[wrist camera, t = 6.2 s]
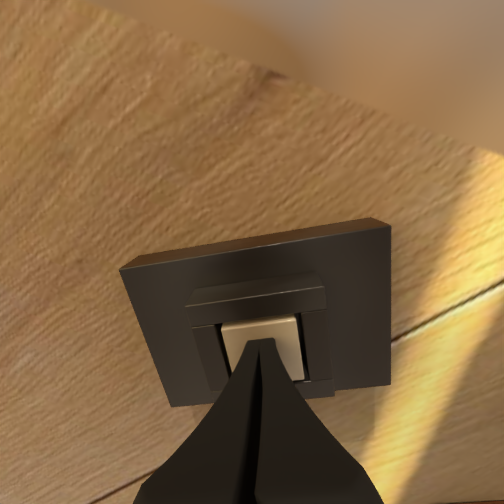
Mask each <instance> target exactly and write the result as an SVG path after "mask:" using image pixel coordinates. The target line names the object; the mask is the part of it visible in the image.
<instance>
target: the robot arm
mask: <svg viewBox="0 0 504 504" xmlns="http://www.w3.org/2000/svg"><path fill="white" fill-rule="evenodd" d="M133 504H384V502H383V501H382V499H381V497H380V495H379V493H378V491H377V490H376V488H375V486H374V485H373V483H372V481H371V480H370V478H369V476H368V475H367V473H366V471H365V470H364V468H363V467H362V466H361V465H360V464H359V463H358V462H357V461H356V460H355V459H354V458H353V457H352V456H351V455H350V454H349V453H348V452H347V451H346V450H345V448H344V447H343V446H342V445H341V444H340V443H339V442H338V441H337V440H336V439H335V438H334V436H333V435H332V434H331V433H330V432H329V431H328V429H327V428H326V427H325V426H324V425H323V423H322V422H321V421H320V420H319V418H318V417H317V416H316V415H315V414H314V412H313V411H312V410H311V408H310V407H309V405H308V404H307V403H306V401H305V400H304V398H303V397H302V395H301V394H300V392H299V391H298V389H297V388H296V386H295V384H294V383H293V381H292V379H291V378H290V376H289V374H288V372H287V370H286V368H285V366H284V364H283V362H282V360H281V358H280V355H279V353H278V350H277V347H276V341H275V339H274V338H273V337H271V338H264V339H256V340H248V341H247V342H246V345H245V347H244V350H243V352H242V354H241V357H240V359H239V361H238V363H237V365H236V367H235V369H234V371H233V373H232V375H231V377H230V379H229V380H228V382H227V384H226V385H225V387H224V389H223V391H222V392H221V394H220V395H219V397H218V399H217V400H216V402H215V403H214V404H213V406H212V407H211V409H210V410H209V412H208V413H207V414H206V416H205V417H204V418H203V420H202V421H201V422H200V423H199V425H198V426H197V427H196V429H195V430H194V431H193V432H192V433H191V435H190V436H189V437H188V438H187V439H186V440H185V441H184V442H183V444H182V445H181V446H180V447H179V448H178V449H177V450H176V451H175V452H174V454H173V455H172V456H171V457H170V458H169V459H168V460H167V461H166V462H165V463H164V464H163V465H162V466H161V467H160V468H159V469H157V470H156V471H155V472H154V473H153V474H152V475H151V476H150V477H149V478H148V479H147V480H146V481H145V482H144V483H143V484H142V485H141V487H140V490H139V492H138V494H137V496H136V498H135V500H134V502H133Z"/></svg>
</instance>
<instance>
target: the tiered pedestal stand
mask: <svg viewBox="0 0 504 504" xmlns="http://www.w3.org/2000/svg"><path fill="white" fill-rule="evenodd" d="M119 272H120V275H121V277H122V280H123V282H124V285H125V288H126V290H127V293H128V295H129V298H130V301H131V303H132V306H133V309H134V311H135V314H136V316H137V319H138V322H139V324H140V327H141V329H142V332H143V335H144V337H145V340H146V343H147V345H148V348H149V350H150V353H151V356H152V358H153V361H154V364H155V366H156V369H157V371H158V374H159V377H160V379H161V382H162V384H163V387H164V390H165V392H166V395H167V398H168V400H169V403H170V405H171V407H180V406H190V405H200V404H210V403H215V402H216V400H217V399H218V397H219V395H220V394H221V392H222V391H223V389H224V387H225V385H226V384H227V382H228V380H229V379H230V377H231V375H232V370H231V366H230V363H229V359H228V355H227V351H226V347H225V343H224V339H223V336H222V332H221V328H222V325H223V323H226V322H234V321H241V320H249V319H256V318H264V317H271V316H279V315H286V314H294V313H295V317H296V322H297V329H298V336H299V343H300V350H301V357H302V364H303V371H304V379H303V380H294V381H293V383H294V384H295V386H296V388H297V389H298V391H299V392H300V394H301V395H302V397H303V398H304V399H313V398H323V397H333V396H335V391H337V390H347V389H356V388H366V387H376V386H386V385H391V225H389V224H386V223H384V222H381V221H379V220H376V219H374V218H371V217H370V218H364V219H358V220H352V221H346V222H340V223H334V224H328V225H322V226H316V227H310V228H304V229H298V230H292V231H286V232H279V233H273V234H267V235H261V236H255V237H249V238H243V239H237V240H231V241H225V242H219V243H213V244H207V245H201V246H195V247H189V248H183V249H177V250H171V251H164V252H158V253H152V254H146V255H140V256H138V257H136V258H135V259H133V260H132V261H130V262H129V263H127V264H126V265H124V266H123V267H121V268H120V269H119Z"/></svg>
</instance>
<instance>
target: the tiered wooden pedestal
mask: <svg viewBox="0 0 504 504" xmlns="http://www.w3.org/2000/svg"><path fill="white" fill-rule="evenodd" d="M453 504H504V501H488V502H471V503H453Z"/></svg>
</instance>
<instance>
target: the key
mask: <svg viewBox="0 0 504 504" xmlns="http://www.w3.org/2000/svg"><path fill="white" fill-rule="evenodd" d="M221 332H222V336H223V339H224V343H225V347H226V351H227V355H228V359H229V363H230V366H231V370H232V373H233V371H234V369H235V367H236V365H237V363H238V361H239V359H240V357H241V354H242V352H243V350H244V347H245V345H246V342H247V341H248V340H256V339H264V338H271V337H273V338H274V339H275V341H276V347H277V350H278V353H279V355H280V358H281V360H282V362H283V364H284V366H285V368H286V370H287V372H288V374H289V376H290V378H291V379H292V381H294V380H303V379H304V371H303V364H302V357H301V350H300V343H299V336H298V329H297V322H296V317H295V313H294V314H286V315H279V316H271V317H264V318H256V319H249V320H241V321H234V322H226V323H223V325H222V328H221Z"/></svg>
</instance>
